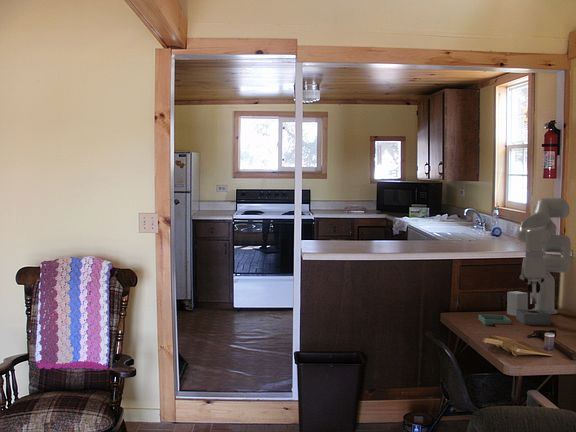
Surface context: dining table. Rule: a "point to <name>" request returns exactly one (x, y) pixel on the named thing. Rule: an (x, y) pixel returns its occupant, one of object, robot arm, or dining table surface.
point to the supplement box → (516, 302)
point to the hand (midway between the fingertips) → (533, 291)
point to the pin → (533, 291)
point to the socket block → (533, 317)
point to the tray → (488, 320)
